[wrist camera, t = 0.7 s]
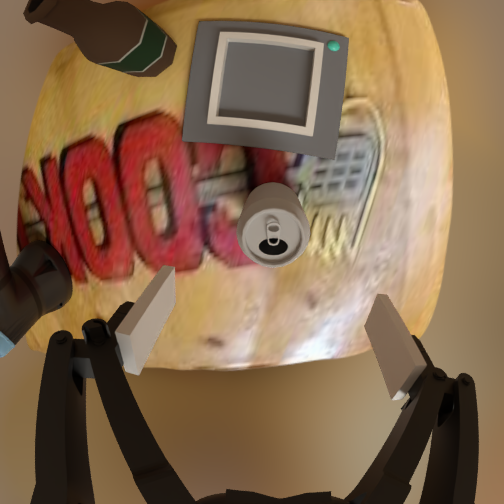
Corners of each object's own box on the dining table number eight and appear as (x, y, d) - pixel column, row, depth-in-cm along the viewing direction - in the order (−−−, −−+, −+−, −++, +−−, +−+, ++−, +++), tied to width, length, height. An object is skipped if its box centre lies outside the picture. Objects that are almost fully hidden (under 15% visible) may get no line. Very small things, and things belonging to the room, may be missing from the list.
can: (245, 233, 39) (235, 273, 28) (244, 181, 36) (232, 201, 25) (298, 234, 38) (309, 274, 27) (300, 181, 35) (314, 202, 24)
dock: (184, 141, 34) (178, 141, 32) (200, 23, 27) (196, 17, 24) (332, 159, 34) (337, 160, 31) (346, 40, 26) (351, 34, 24)
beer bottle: (182, 68, 30) (73, 4, 8) (133, 87, 31) (2, 64, 9) (174, 25, 27) (79, -55, 5) (126, 45, 28) (10, 0, 6)
